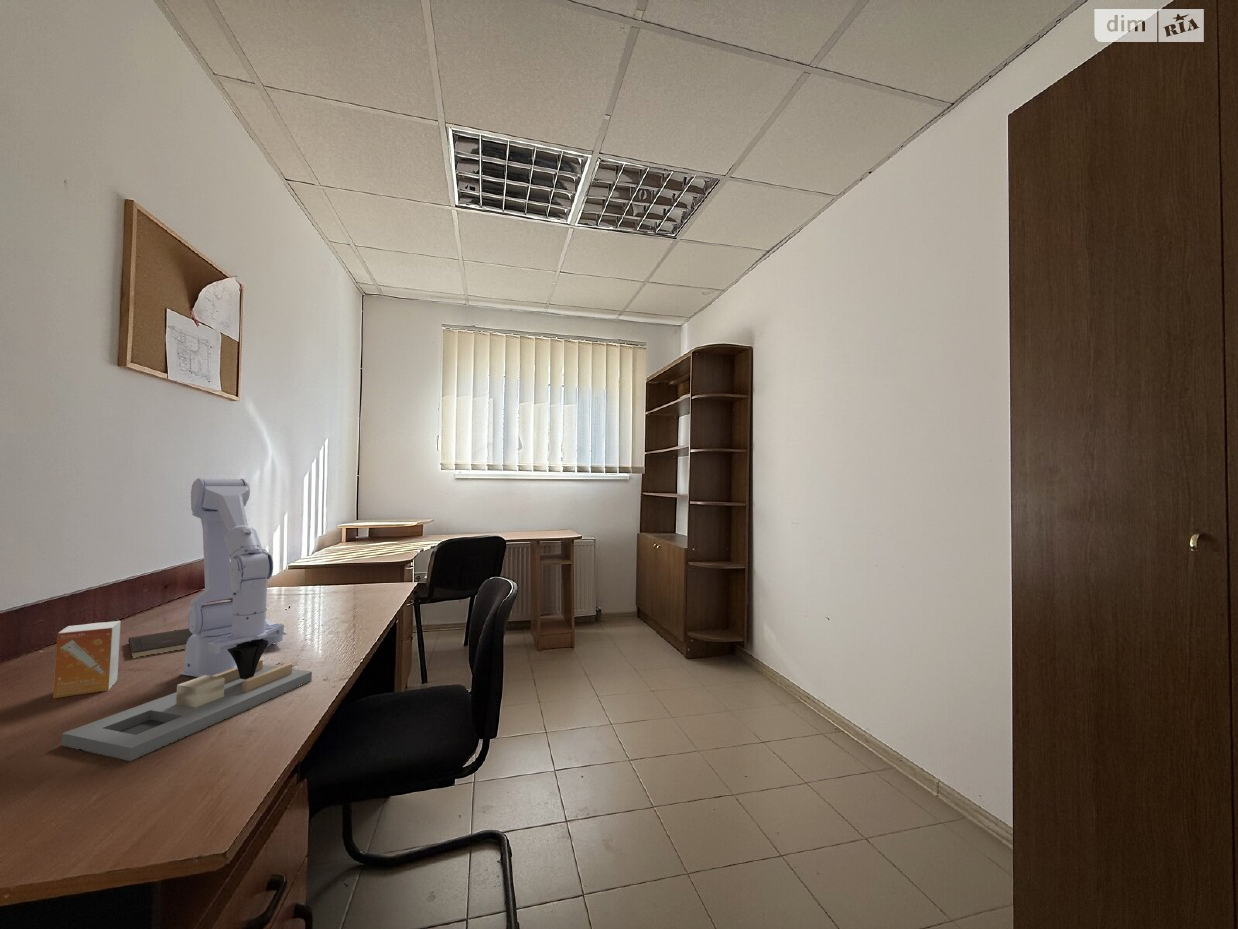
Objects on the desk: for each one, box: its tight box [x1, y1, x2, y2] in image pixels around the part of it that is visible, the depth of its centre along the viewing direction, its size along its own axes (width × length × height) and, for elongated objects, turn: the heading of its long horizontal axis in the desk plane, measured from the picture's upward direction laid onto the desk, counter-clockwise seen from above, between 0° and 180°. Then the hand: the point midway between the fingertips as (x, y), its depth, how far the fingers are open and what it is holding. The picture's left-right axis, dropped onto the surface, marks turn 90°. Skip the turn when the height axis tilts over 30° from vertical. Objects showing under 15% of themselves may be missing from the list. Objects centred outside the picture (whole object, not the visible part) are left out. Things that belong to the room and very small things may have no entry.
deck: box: [61, 659, 313, 762], centre depth 96 cm, size 16×33×4 cm, turn 165°
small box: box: [52, 620, 121, 699], centre depth 104 cm, size 8×6×13 cm
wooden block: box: [176, 675, 225, 708], centre depth 95 cm, size 5×5×4 cm
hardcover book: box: [127, 627, 193, 658], centre depth 135 cm, size 16×23×2 cm
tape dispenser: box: [264, 618, 288, 646], centre depth 134 cm, size 9×7×13 cm
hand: (246, 678), depth 104 cm, fingers closed
